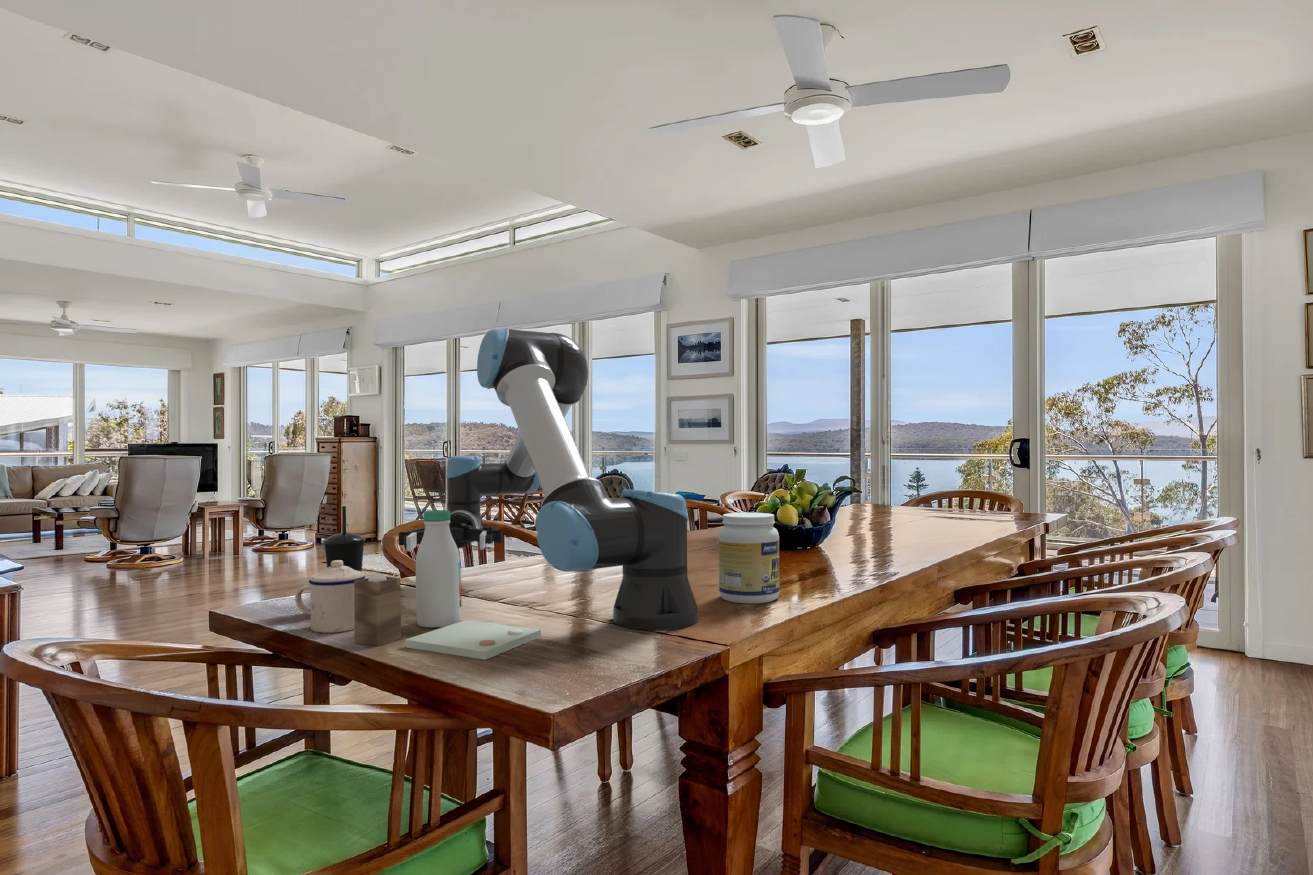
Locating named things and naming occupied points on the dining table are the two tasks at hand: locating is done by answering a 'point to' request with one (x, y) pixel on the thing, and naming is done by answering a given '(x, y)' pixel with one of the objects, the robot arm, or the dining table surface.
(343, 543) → the drinking cup
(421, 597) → the milk bottle
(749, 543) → the supplement tub
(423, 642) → the card
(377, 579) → the cream ball
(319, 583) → the teacup with lid
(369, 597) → the walnut tube
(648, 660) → the dining table surface
